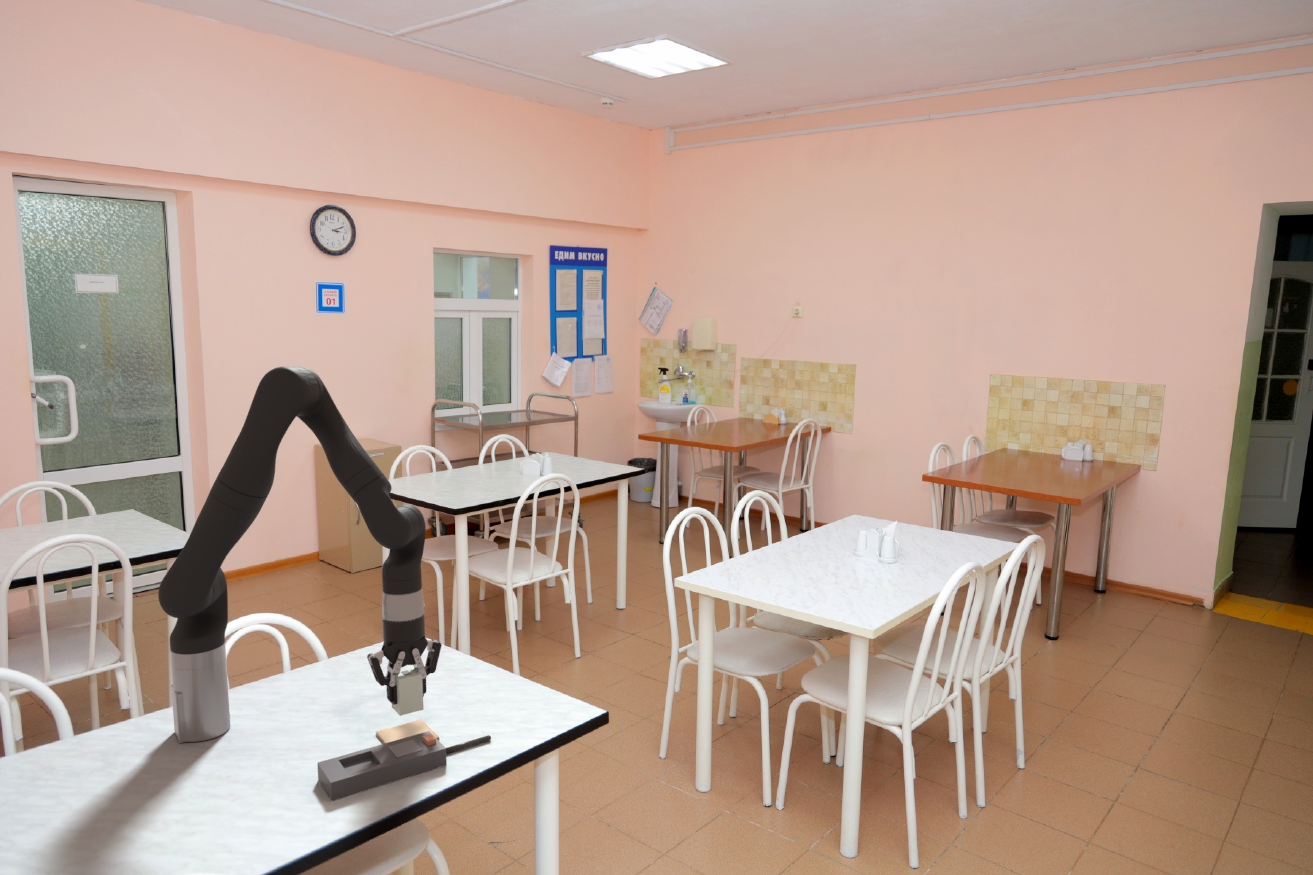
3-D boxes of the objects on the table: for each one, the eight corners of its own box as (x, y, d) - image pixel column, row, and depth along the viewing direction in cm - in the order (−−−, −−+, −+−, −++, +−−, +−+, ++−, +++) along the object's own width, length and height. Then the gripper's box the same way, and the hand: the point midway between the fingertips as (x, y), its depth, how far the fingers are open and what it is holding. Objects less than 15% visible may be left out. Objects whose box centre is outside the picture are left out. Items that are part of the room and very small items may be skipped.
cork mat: (392, 753, 158) (392, 750, 158) (376, 734, 166) (376, 731, 166) (439, 740, 164) (439, 737, 164) (421, 722, 171) (421, 719, 171)
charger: (400, 715, 161) (398, 679, 160) (391, 706, 164) (390, 671, 163) (423, 709, 163) (422, 673, 162) (414, 700, 167) (413, 665, 166)
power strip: (331, 800, 143) (330, 778, 142) (318, 779, 149) (317, 758, 149) (500, 748, 161) (499, 727, 160) (481, 731, 167) (481, 712, 167)
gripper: (432, 600, 168) (435, 683, 171) (358, 614, 160) (362, 702, 162) (447, 610, 162) (450, 696, 165) (371, 626, 154) (376, 717, 156)
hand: (407, 699), depth 164 cm, fingers closed on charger, 4 cm apart
